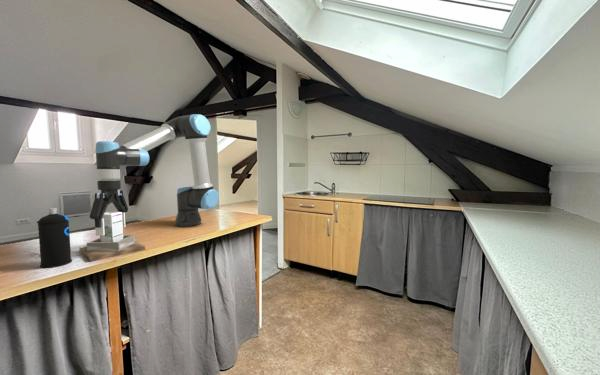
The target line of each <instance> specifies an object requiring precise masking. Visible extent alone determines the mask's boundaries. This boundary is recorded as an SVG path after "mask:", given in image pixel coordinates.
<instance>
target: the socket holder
mask: <svg viewBox="0 0 600 375" xmlns="http://www.w3.org/2000/svg"><path fill="white" fill-rule="evenodd" d="M135 235H136V234H123V239H122V240H120V241H118V242H100V237H99V238H96V239H94V240H92V241H89V242H86V246H83V247H79V248H78V251H79V253H80V254H81V255H83V257H84V258H86V259H87V260H88V261H89V262H90V263H91V262H96V261H100V260H104V259H109V258H114V257H117V256H123V255H127V254H133V253H135V252H136V253H137V252H141V251H144V250H146V246H145V245H144V244H142V243H141V242H140V243H139V242H138V241H136V239H135V238H136V237H135Z"/></svg>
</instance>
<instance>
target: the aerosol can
mask: <svg viewBox="0 0 600 375" xmlns="http://www.w3.org/2000/svg"><path fill="white" fill-rule="evenodd" d="M48 213H49V214H47V215H44V216H42V217H41V218H40V219H39V220H37V221H36V223H37V227H38V228H37V229H38V230H37V231H38V241H39V242H38V243H39V254H40V255H39V256H40V265H39V267H40V268H42V269H51V268H58V267H61V266H65V265H69V264H70V263H71V262H73V258H72V252H71V236H70V218H69V217H68V216H66V215H64V214H59V213H58V209H57V207H51V208H48Z"/></svg>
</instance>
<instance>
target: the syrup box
mask: <svg viewBox="0 0 600 375" xmlns="http://www.w3.org/2000/svg"><path fill="white" fill-rule="evenodd" d="M102 219H104V230H105V235H104V236H99V238H100V242H118V241H120V240H122V239H123V235H124V227H123V224H122V212H118V211H105V213H104V215H103V217H102Z"/></svg>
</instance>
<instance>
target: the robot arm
mask: <svg viewBox="0 0 600 375" xmlns="http://www.w3.org/2000/svg"><path fill="white" fill-rule="evenodd" d="M210 132H211V123H210V121H209V119H208V118H207V117H206V116H204V115H202V114H199V113H197V114H196V113H195V114H194V113H193V114H187V115H181V116H177V117H174V118H173V119H172V118H171V120H169V121H166V122H164V123H163V124H161V125H160V127H158V128H156V129H154V130H152V131H150V132H148V133H146V134H143V135H141V136H139V137H137V138H135V139H132V140H130V141H128V142H126V143H124V144H122V145H119V142H117V141H107V140H106V141H105V140H103V141H97V142H96V143H95V149H94V150H95V151H94V153H95V161H96V178H97V182H96V183H97V190H99V191H100V192H96V193H94V200H93V203H92V206H91V210H90V213H89V219H91V220H94V227H95V228H94V230H95V236H96V237H97V236H99V237H100V236H104V235H105V230H104V219H102V217H103V215H104V213H105V212H106V210H107V208H108V206H109V205H110V204H111V203H112V204H113V205H114V208H116V210H117V212H122V224H123V228H126V213H128V211H129V207H128V204H127V202H126V199H125V196H124V190H122V189H121V188H122V186H121V185H122V184H121V169H120V168H121V167H132V166H133V167H134V166H135V167H136V166H137V167H141V166H142V167H144V166H147V165H148V164H149V163H150V155H149V152H148V151H151V150H153V149H154V148H156V147H159V146H160V145H162V144H164V143H166V142H168V141H173V140H175V139H178V138H184V139H185V141H187V142H188V147H189V153H190V160H191V168H192V176H193V182H194V184H193V186H185V187H184V186H183V187H178V188H177V190H176V191H177V192H176V202H177V214H176V217H175V219H174V226H177V227H193V225H194V226H198V225H201V224H202V223H201V222H203V221H202V217H201V215H200V212H199V209H203V210H210V209H211V210H212V209H213V208H215V207H216V206H217V204H218V202H219V199H220V198H219V197H220V195H219V192H218V190H216V189H215V188H214V184H213V183H211V180H210V179H211V178H210V172H209V171H210V170H209V164H208V155H207V148H206V141H207V140H208V135H209V134H210ZM120 189H121V190H120ZM200 223H201V224H200ZM197 224H198V225H197Z"/></svg>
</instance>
